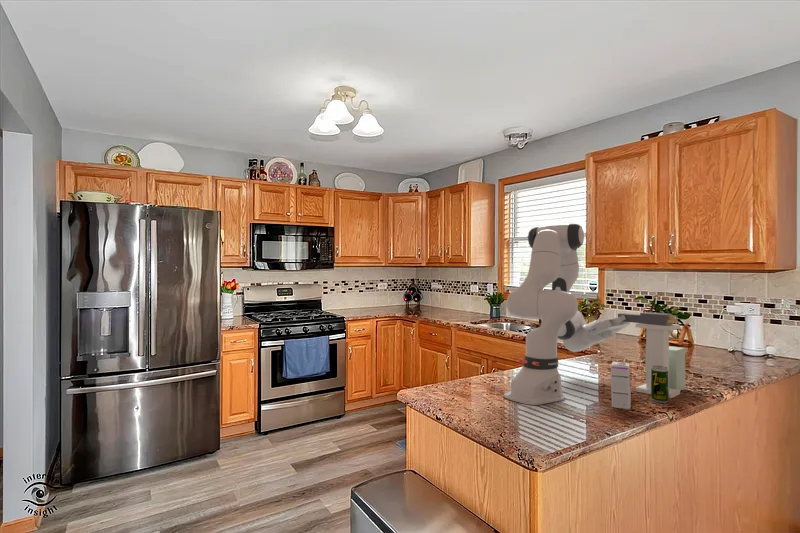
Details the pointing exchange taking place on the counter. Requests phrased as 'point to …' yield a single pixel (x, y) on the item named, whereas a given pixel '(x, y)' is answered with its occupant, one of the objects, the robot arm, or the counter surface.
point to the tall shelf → (656, 352)
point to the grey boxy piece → (650, 318)
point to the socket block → (676, 368)
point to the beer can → (659, 384)
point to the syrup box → (620, 385)
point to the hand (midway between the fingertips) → (628, 316)
